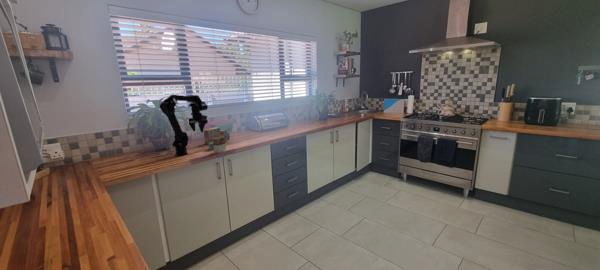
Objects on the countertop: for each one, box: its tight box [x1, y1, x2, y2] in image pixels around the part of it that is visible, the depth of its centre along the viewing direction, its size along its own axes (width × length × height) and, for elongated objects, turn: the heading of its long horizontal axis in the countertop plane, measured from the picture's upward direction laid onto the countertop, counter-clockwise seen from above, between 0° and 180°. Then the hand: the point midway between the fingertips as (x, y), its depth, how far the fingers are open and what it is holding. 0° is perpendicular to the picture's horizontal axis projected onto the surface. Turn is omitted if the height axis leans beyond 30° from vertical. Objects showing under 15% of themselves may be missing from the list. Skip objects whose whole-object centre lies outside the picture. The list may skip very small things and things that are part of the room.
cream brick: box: [213, 142, 227, 153], centre depth 187 cm, size 8×4×5 cm, turn 159°
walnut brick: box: [213, 136, 227, 146], centre depth 186 cm, size 8×4×5 cm, turn 151°
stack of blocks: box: [203, 127, 230, 145], centre depth 214 cm, size 21×6×12 cm, turn 146°
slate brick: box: [207, 142, 214, 151], centre depth 193 cm, size 8×4×5 cm, turn 131°
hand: (198, 131), depth 194 cm, fingers open, 9 cm apart
